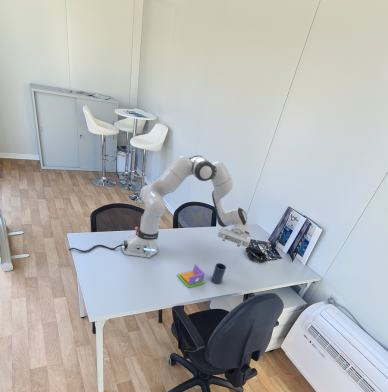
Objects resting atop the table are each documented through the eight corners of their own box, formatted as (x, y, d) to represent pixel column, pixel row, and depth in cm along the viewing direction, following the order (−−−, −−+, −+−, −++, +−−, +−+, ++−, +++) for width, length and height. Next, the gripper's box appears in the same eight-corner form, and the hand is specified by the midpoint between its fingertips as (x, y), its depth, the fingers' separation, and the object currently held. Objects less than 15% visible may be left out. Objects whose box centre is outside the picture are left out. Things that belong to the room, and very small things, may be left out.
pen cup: (213, 283, 171) (217, 269, 165) (210, 277, 176) (214, 263, 170) (222, 283, 174) (227, 269, 167) (219, 277, 178) (224, 263, 172)
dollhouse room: (204, 283, 170) (207, 274, 166) (188, 287, 163) (190, 278, 159) (193, 271, 177) (196, 262, 173) (177, 275, 170) (179, 266, 166)
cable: (241, 249, 212) (243, 244, 209) (257, 249, 217) (259, 244, 215) (252, 262, 200) (254, 257, 197) (268, 262, 205) (271, 257, 202)
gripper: (222, 223, 183) (216, 232, 172) (253, 234, 179) (248, 244, 168) (220, 232, 187) (213, 241, 176) (250, 243, 183) (245, 253, 172)
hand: (230, 242), depth 172 cm, fingers open, 8 cm apart
